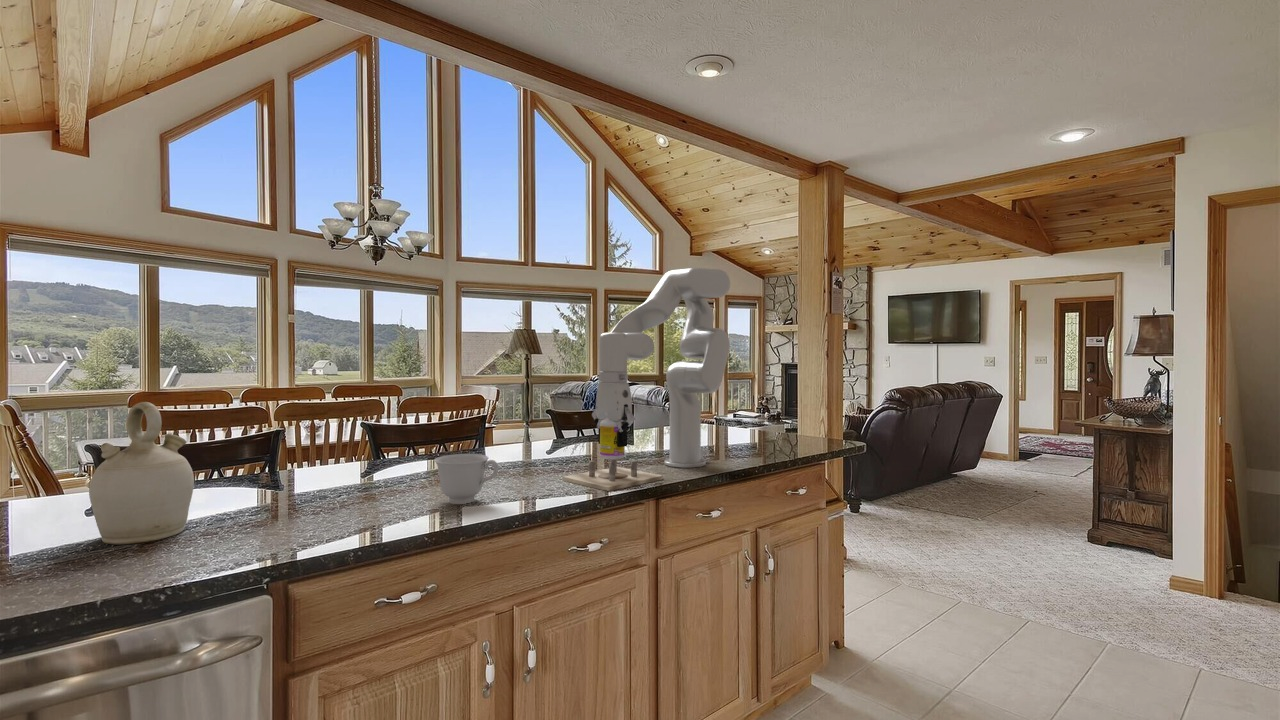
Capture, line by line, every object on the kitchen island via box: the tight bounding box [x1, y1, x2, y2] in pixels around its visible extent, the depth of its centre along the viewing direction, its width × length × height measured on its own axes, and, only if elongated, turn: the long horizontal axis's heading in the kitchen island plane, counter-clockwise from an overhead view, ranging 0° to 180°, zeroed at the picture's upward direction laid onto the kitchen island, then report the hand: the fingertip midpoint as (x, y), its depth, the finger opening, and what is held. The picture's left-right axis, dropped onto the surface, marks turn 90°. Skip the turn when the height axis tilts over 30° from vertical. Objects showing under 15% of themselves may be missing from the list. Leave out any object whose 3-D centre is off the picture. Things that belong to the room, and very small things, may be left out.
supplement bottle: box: [599, 412, 626, 461], centre depth 166 cm, size 7×7×13 cm
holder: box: [562, 459, 664, 492], centre depth 166 cm, size 20×18×5 cm
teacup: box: [433, 453, 499, 505], centre depth 142 cm, size 12×15×10 cm
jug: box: [88, 401, 195, 545], centre depth 116 cm, size 15×16×25 cm
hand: (612, 444), depth 166 cm, fingers closed on supplement bottle, 6 cm apart
